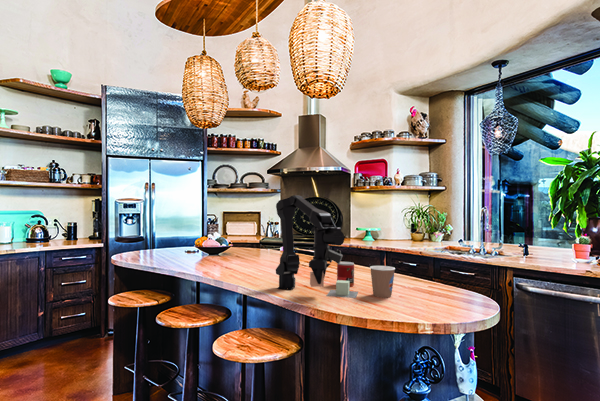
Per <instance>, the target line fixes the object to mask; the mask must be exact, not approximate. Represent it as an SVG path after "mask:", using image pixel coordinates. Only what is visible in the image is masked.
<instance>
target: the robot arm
mask: <svg viewBox="0 0 600 401" xmlns="http://www.w3.org/2000/svg"><path fill="white" fill-rule="evenodd" d="M275 208H276V214H277V216H278V218H279V219H280V223H281V224H280V225H281V238H282V240H281V241H282V254H281V255H280V258H279V264H278V265H277V267H276V268H275V275H276V276H277V275H278V277H279V278H278V286H277V289H278V290H291V291H292V290H293V289H294V288H296V277H295V275H297V274H298V272H299V268H300V264H301V263H300V255H299V254H297V253H296V252H295V242H294V228H293V227H294V226H293V218H294V216H295V214H296V209H299V210H300V211H301V212H302V213H304V214H305V215H306V216H307V217H308V218H309V219H308V220H309V221H310V223H311V224H312V225H313V227H312V228H311V229H310V232H312V233H313V234H314V236H313V239H314V240H313V241H314V242H313V246H312V249H313V257H312V259H311V260H309V262H308V268H310V269H311V272H313V273H314V275H315V278H316V280H317V283H318V284H321V281H322V275H323V274H324V278H325V276H326V273H327V269H328V267H329V266H331V263H332V262H335V263H336V264H337V263H340V262H342V259H343V257H344V255H343V254H342V251H341V249H340V250H339V249H336V250H332V249H331V246H338V247H339V246H342V245H343V244H344V242H345V238H346V237H345V235H344V232H343V231H342V229H341V227H337V226H336V224H335V222H334V220H333V218H332V215H331V213H329V212H327V211H326V210H323V209H319V208H317V207H316V206H314V205H313V204H312V203H310V202H309V201H308V200H306V199H305V198H304V196H302V195H298V194H297V195H295V194H293V195H291V196H289V197H286V198H283V199H280V200H278V201H277V202H276V205H275ZM328 262H329V263H328Z"/></svg>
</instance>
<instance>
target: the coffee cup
mask: <svg viewBox="0 0 600 401" xmlns="http://www.w3.org/2000/svg"><path fill="white" fill-rule="evenodd" d="M369 269H370V275H371V287H372V293H373V297H377V298H384V299H385V298H391V297H392V294H393V285H394V278H395V270H396V268H395V267H394V266H388V265H371V266H369Z"/></svg>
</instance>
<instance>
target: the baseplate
mask: <svg viewBox="0 0 600 401" xmlns="http://www.w3.org/2000/svg"><path fill="white" fill-rule="evenodd" d="M358 295H359V291H354V290H349V295H336V289H330V290H329V291H328V293H327V294H326V297H332V298H333V297H334V298H346V299H347V298H348V299H349V298H351V299H357V296H358Z"/></svg>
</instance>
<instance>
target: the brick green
mask: <svg viewBox="0 0 600 401" xmlns="http://www.w3.org/2000/svg"><path fill="white" fill-rule="evenodd" d="M350 288H351V287H350V281H343V280H338V281H337V280H336V281H335V290H336V295H349V291H350Z"/></svg>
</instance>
